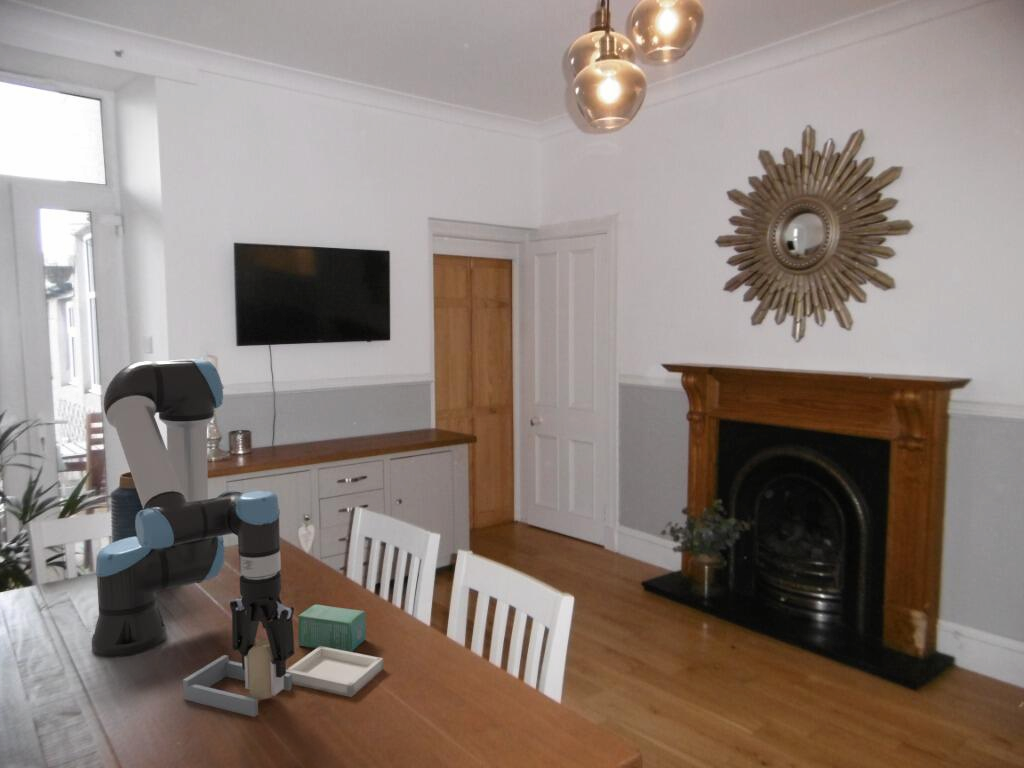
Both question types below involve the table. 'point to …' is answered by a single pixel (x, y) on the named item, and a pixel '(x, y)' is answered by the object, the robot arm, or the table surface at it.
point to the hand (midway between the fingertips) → (264, 688)
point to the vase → (124, 508)
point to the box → (332, 628)
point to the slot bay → (209, 675)
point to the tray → (335, 670)
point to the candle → (260, 670)
